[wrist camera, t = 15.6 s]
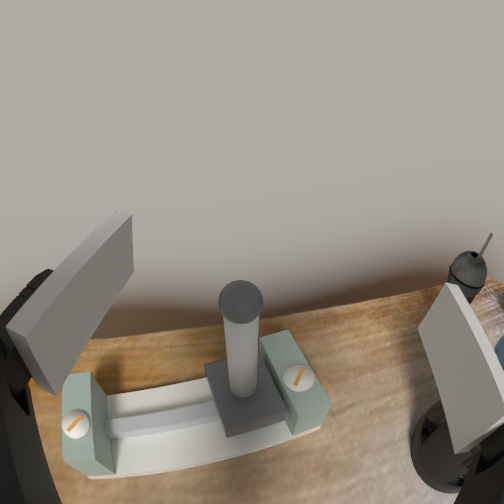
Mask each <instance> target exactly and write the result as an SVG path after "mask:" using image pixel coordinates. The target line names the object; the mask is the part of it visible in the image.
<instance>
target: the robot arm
mask: <svg viewBox="0 0 504 504" xmlns="http://www.w3.org/2000/svg"><path fill="white" fill-rule="evenodd" d="M133 272H134V268H133V243H132V215H131V214H126V213H121V212H116V211H115V212H114V213H113V214H112V215H111V216H109V217H108V218H107V219H106V220H105V221H104V222H103V223H102V224H101V225H100V226H99V227H97V228H96V229H95V230H94V231H93V232H92V233H91V234H90V235H89V236H88V237H87V238H86V239H85V240H84V241H83V242H82V243H81V244H80V245H79V246H78V247H77V248H76V249H75V250H74V251H73V252H72V253H71V254H70V255H69V256H68V257H67V258H66V259H65V260H64V261H63V262H62V263H61V264H60V265H59V266H58V267H57V268H56V269H55V270H54V271H53V270H50V269H47V270H45V271H43V272H41V273H40V274H38V275H36V276H35V277H34V278H33V279H32V280H31V281H30V282H29V283H28V284H27V286H26V288H24V289H23V290H22V291H21V292H20V293H19V296H17V297H16V298H15V299H14V300H13V301H12V302H11V303H10V305H9V306H8V307H7V308H6V309H5V310H4V311H3V313H2V314H1V315H0V504H62V503H61V501H60V498H59V496H58V493H57V490H56V488H55V485H54V482H53V479H52V476H51V473H50V470H49V467H48V464H47V461H46V457H45V454H44V450H43V447H42V443H41V439H40V435H39V431H38V427H37V423H36V418H35V413H34V408H33V403H32V398H31V392H30V388H29V386H28V382H29V380H30V379H31V377H32V378H33V379H34V381H35V383H36V384H37V386H38V387H39V388H41V389H43V390H45V391H47V392H49V393H51V394H53V395H55V396H57V395H58V393H59V391H60V389H61V388H62V386H63V384H64V382H65V380H66V379H67V377H68V375H69V373H70V372H71V370H72V368H73V366H74V365H75V363H76V361H77V360H78V358H79V356H80V355H81V353H82V351H83V350H84V348H85V346H86V345H87V343H88V341H89V340H90V338H91V336H92V335H93V333H94V332H95V330H96V328H97V327H98V325H99V324H100V322H101V320H102V319H103V317H104V316H105V314H106V313H107V311H108V310H109V308H110V306H111V305H112V303H113V302H114V300H115V299H116V297H117V296H118V294H119V293H120V291H121V290H122V289H123V287H124V286H125V284H126V283H127V281H128V280H129V278H130V277H131V275H132V274H133ZM417 329H418V332H419V334H420V337H421V340H422V342H423V345H424V348H425V351H426V354H427V357H428V360H429V363H430V366H431V369H432V372H433V375H434V378H435V381H436V384H437V388H438V391H439V394H440V398H441V400H440V401H439V402H437V403H436V404H434V405H433V406H432V407H431V408H430V409H429V410H428V411H427V412H426V413H425V414H424V415H423V417H422V418H421V419H420V420H419V422H418V424H417V426H416V428H415V430H414V433H413V437H412V443H411V453H412V459H413V463H414V466H415V469H416V471H417V472H418V474H419V476H420V477H421V478H422V480H423V481H424V482H425V483H426V484H427V485H429V486H430V487H432V488H433V489H435V490H437V491H440V492H444V493H459V494H458V496H457V498H456V500H455V502H454V504H504V335H503V336H502V337H501V338H500V339H499V341H498V343H497V344H496V346H495V350H494V349H493V347H492V345H491V343H490V342H489V340H488V338H487V336H486V334H485V332H484V330H483V328H482V326H481V324H480V323H479V321H478V319H477V317H476V315H475V314H474V312H473V310H472V308H471V307H470V305H469V303H468V301H467V300H466V298H465V296H464V295H463V293H462V291H461V290H460V288H459V286H458V285H455V284H450V283H445V284H444V286H443V288H442V289H441V291H440V293H439V295H438V296H437V298H436V300H435V301H434V303H433V305H432V306H431V308H430V309H429V311H428V313H427V314H426V316H425V317H424V319H423V320H422V322H421V323H420V325H419V326H418V328H417Z"/></svg>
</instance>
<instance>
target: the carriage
mask: <svg viewBox="0 0 504 504" xmlns="http://www.w3.org/2000/svg"><path fill="white" fill-rule="evenodd" d="M262 307H263V298H262V295H261V292H260V291H259V289H258V288H257V287H256V286H255V285H254V284H252V283H250V282H248V281H243V280H238V281H234V282H231V283H229V284H228V285H226V286H225V287H224V288H223V290H222V291H221V293H220V296H219V309H220V311H221V313H222V315H223V318H224V330H225V341H226V352H227V359H225V360H221V361H216V362H212V363H208V364H204V368H205V373H206V378H207V381H208V384H209V387H210V390H211V393H212V397H213V400H214V403H215V406H216V409H217V412H218V415H219V418H220V421H221V424H222V426H223V429H224V432H225V435H226V438H229V437H232V436H236V435H240V434H243V433H247V432H250V431H254V430H257V429H260V428H264V427H267V426H270V425H273V424H276V423H279V422H282V421H285V417H286V413H287V409H286V407H285V404H284V402H283V400H282V398H281V396H280V394H279V392H278V390H277V388H276V386H275V384H274V382H273V380H272V378H271V376H270V373H269V371H268V369H267V367H266V365H265V363H264V361H263V359H262V357H261V354H260V352H259V351H258V329H259V314H260V313H261V310H262Z"/></svg>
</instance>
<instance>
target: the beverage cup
mask: <svg viewBox="0 0 504 504" xmlns="http://www.w3.org/2000/svg"><path fill="white" fill-rule="evenodd" d="M492 235H493V234H492V233H490V235H489V237H488V239H487V241H486V243H485V245H484V246H483V248H482V250H481V252H480V254H478V253H476V252H474V251H466V252H463V253H461V254H460V255H458V256H457V257H456V258H455V260H454V261H453V263H452V264H451V266H450V270H449V274H448V281H447V283H450V284H455V285H458V286H459V288H460V290H461V291H462V293H463V295H464V296H465V298H466V300H467V301H468V303H469V305H470V304H471V302H472V301H473V299H474V298H475V296H476V295H477V294H478V293H479V291H480V290H481V289H482V287H484V284H485V280H486V276H487V267H486V263H485V261H484V259H483V258H482V254H483V252H484V250H485V249H486V247H487V245H488V243H489V241H490V239H491V237H492Z"/></svg>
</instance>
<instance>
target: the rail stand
mask: <svg viewBox="0 0 504 504" xmlns="http://www.w3.org/2000/svg"><path fill="white" fill-rule="evenodd" d="M259 352H260V354H261V357H262V359H263V361H264V363H265V365H266V367H267V369H268V371H269V373H270V376H271V378H272V380H273V382H274V384H275V386H276V388H277V390H278V392H279V394H280V396H281V398H282V400H283V402H284V404H285V407H286V409H287V413H286V417H285V421H282V422H279V423H276V424H273V425H270V426H267V427H264V428H260V429H257V430H254V431H250V432H247V433H243V434H240V435H236V436H232V437H229V438H226V435H225V432H224V429H223V426H222V424H221V421H220V418H219V415H218V412H217V409H216V406H215V403H214V400H213V397H212V393H211V390H210V387H209V384H208V381H207V378H202V379H197V380H193V381H188V382H183V383H178V384H173V385H168V386H163V387H158V388H152V389H147V390H141V391H135V392H128V393H122V394H115V395H108V396H107V395H106V394H105V393H104V391H103V390H102V388H101V387H100V385H99V384H98V382H97V381H96V379H95V378H94V376H93V375H92V373H91V372H83V373H76V374H69V375H68V377H67V379H66V380H65V382H64V384H63V393H62V446H63V461H64V462H66V463H67V464H69V465H70V466H72V467H73V468H75V469H76V470H78V471H79V472H81V473H82V474H84V475H86V476H87V477H89V478H91V479H107V478H121V477H132V476H141V475H149V474H157V473H163V472H170V471H176V470H181V469H187V468H192V467H197V466H201V465H206V464H211V463H215V462H219V461H223V460H227V459H231V458H235V457H238V456H242V455H246V454H249V453H253V452H256V451H259V450H262V449H266V448H269V447H272V446H275V445H278V444H281V443H284V442H287V441H289V440H292V439H295V438H298V437H300V436H303V435H306V434H308V433H311V432H313V431H316V430H318V429H320V427H321V425H322V423H323V421H324V419H325V417H326V415H327V413H328V411H329V409H330V407H331V404H332V403H331V401H330V399H329V398H328V396H327V394H326V393H325V391H324V389H323V388H322V386H321V384H320V383H319V381H318V379H317V377H316V376H315V374H314V372H313V371H312V369H311V367H310V366H309V364H308V362H307V360H306V359H305V357H304V355H303V354H302V352H301V350H300V348H299V347H298V345H297V343H296V342H295V340H294V338H293V336H292V335H291V333H290V331H289V330H285V331H281V332H277V333H274V334H270V335H266V336H263V337H259Z"/></svg>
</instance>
